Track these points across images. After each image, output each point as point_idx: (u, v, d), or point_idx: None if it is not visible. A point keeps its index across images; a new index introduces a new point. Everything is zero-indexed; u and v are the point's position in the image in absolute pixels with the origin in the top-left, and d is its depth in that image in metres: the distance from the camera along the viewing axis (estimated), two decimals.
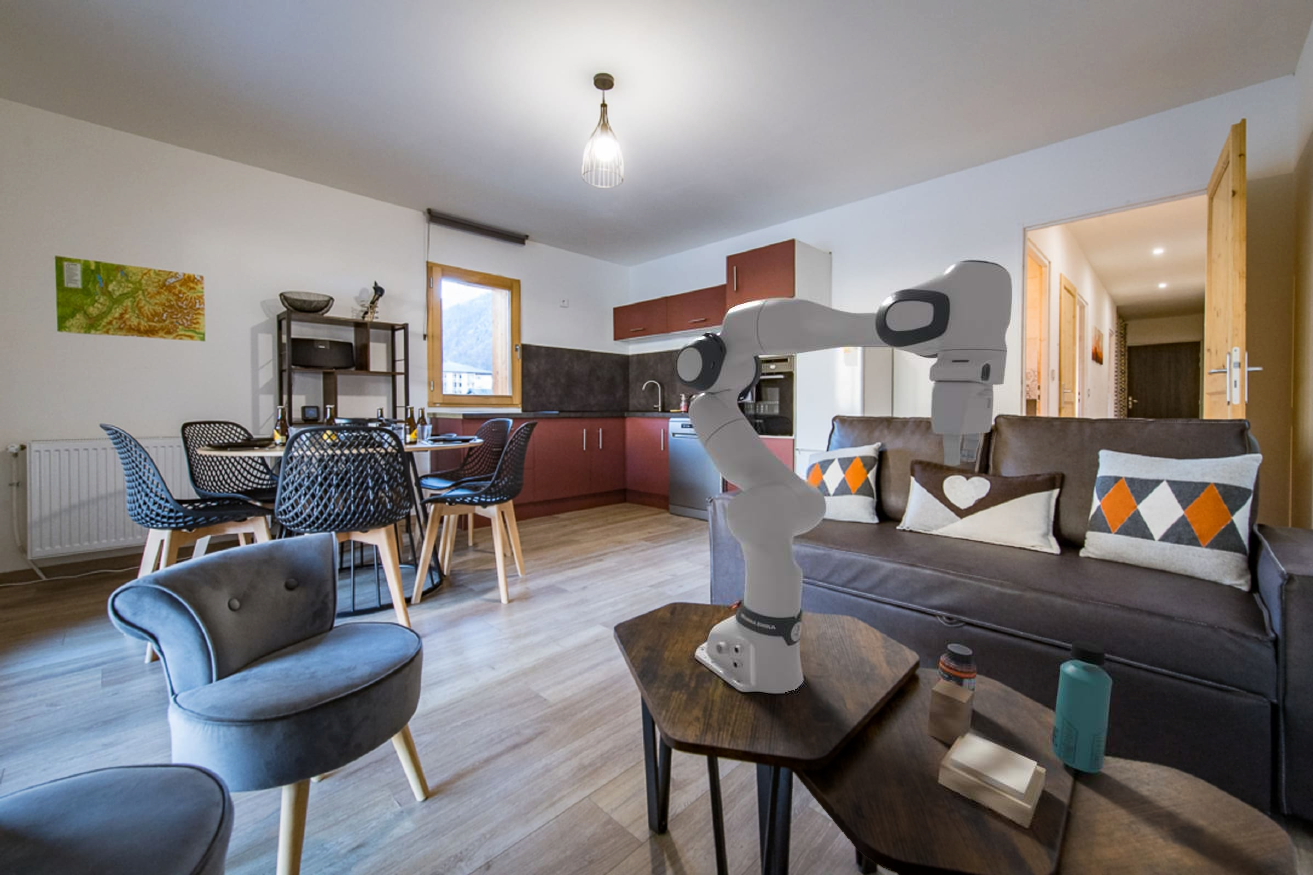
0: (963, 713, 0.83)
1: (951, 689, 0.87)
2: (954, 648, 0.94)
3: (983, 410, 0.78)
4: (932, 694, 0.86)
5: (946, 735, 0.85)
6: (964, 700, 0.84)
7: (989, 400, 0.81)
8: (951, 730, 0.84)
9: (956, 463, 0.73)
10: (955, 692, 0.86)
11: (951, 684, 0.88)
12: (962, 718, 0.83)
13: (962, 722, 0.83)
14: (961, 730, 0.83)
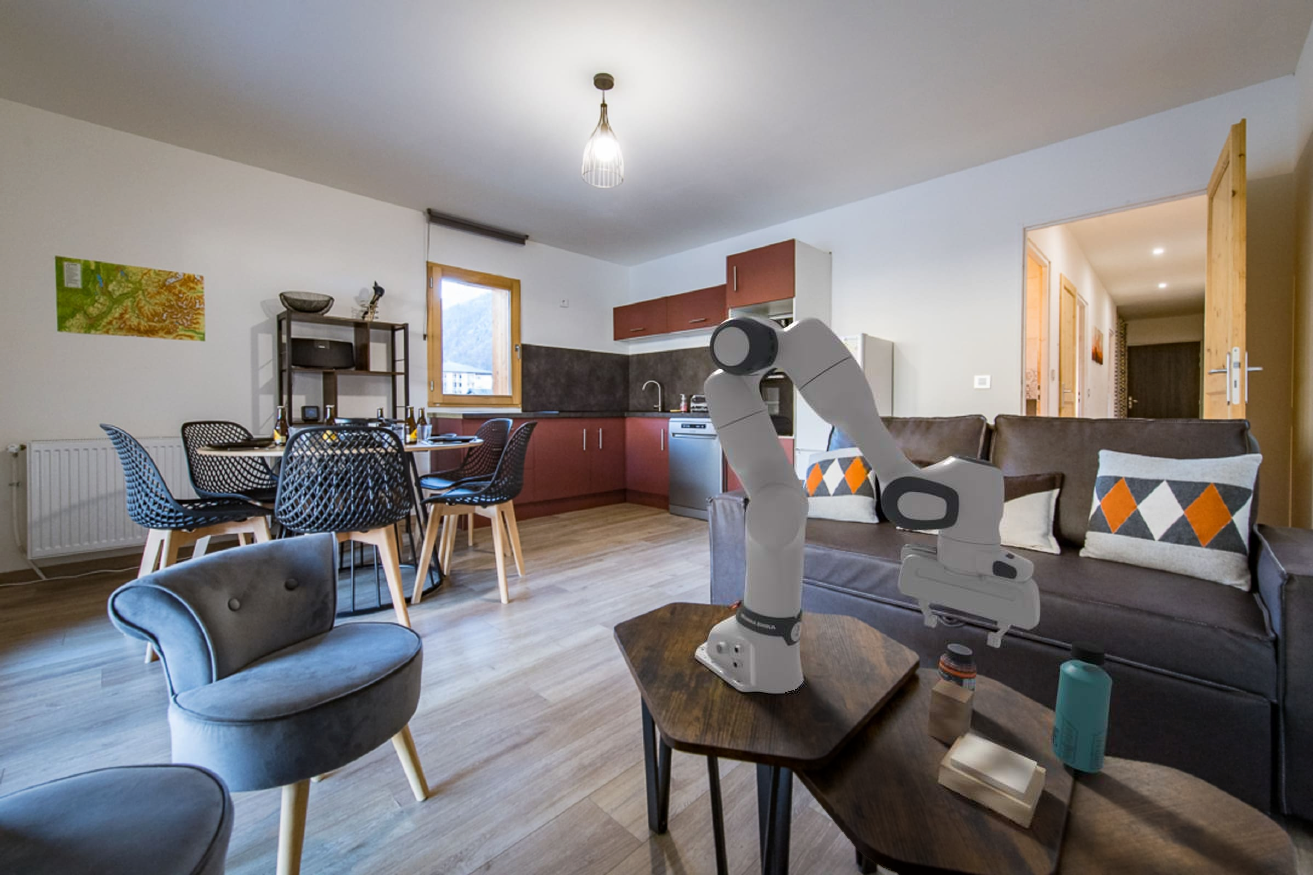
0: (963, 713, 0.83)
1: (951, 689, 0.87)
2: (953, 648, 0.94)
3: None
4: (932, 694, 0.86)
5: (946, 735, 0.85)
6: (964, 700, 0.83)
7: None
8: (951, 731, 0.84)
9: (1000, 643, 0.82)
10: (955, 692, 0.86)
11: (951, 684, 0.88)
12: (962, 718, 0.83)
13: (962, 722, 0.83)
14: (961, 730, 0.83)
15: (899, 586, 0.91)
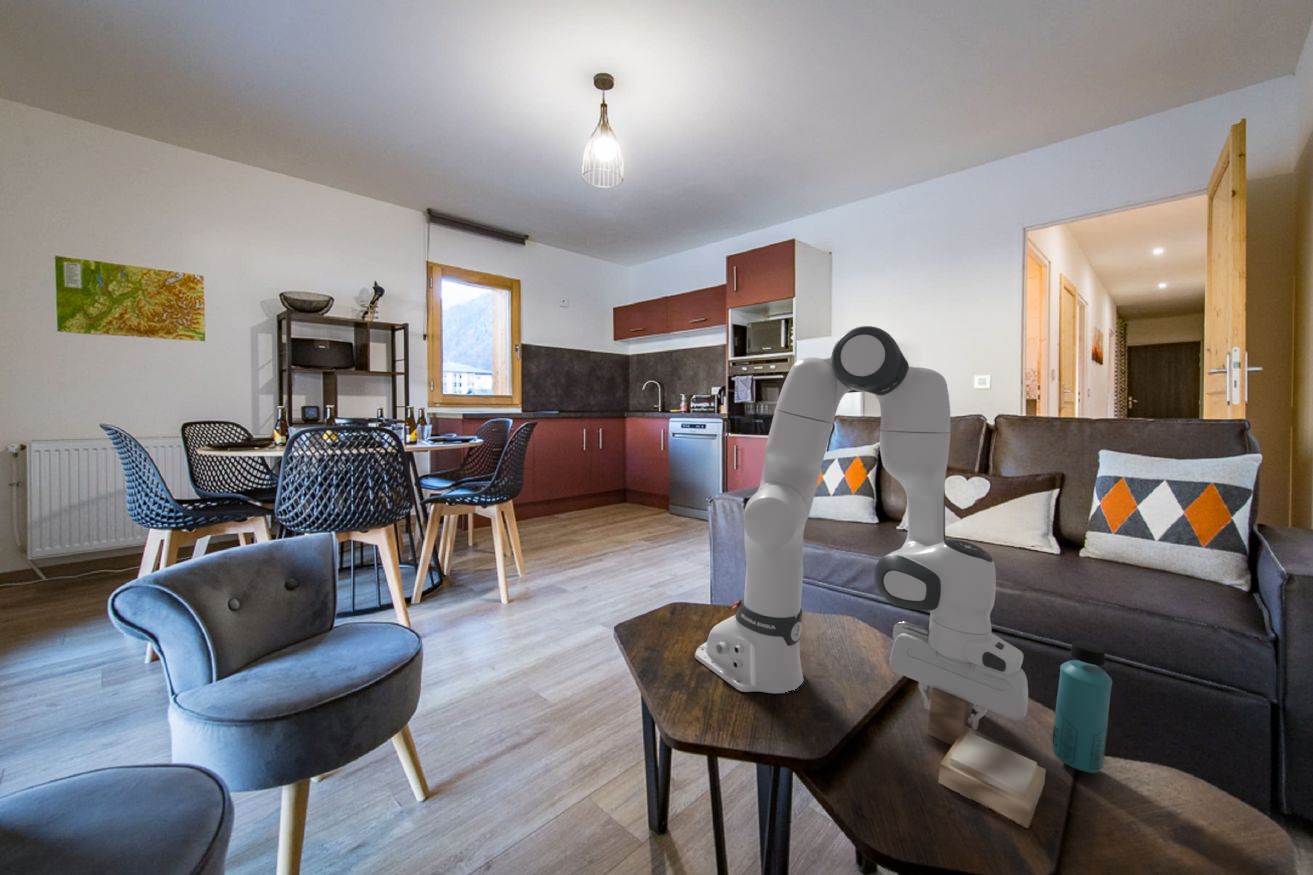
0: (963, 713, 0.83)
1: None
2: None
3: None
4: (932, 694, 0.86)
5: (946, 735, 0.85)
6: None
7: None
8: (951, 730, 0.84)
9: (977, 724, 0.84)
10: None
11: None
12: (962, 718, 0.83)
13: (962, 722, 0.83)
14: (961, 730, 0.83)
15: (891, 663, 0.92)
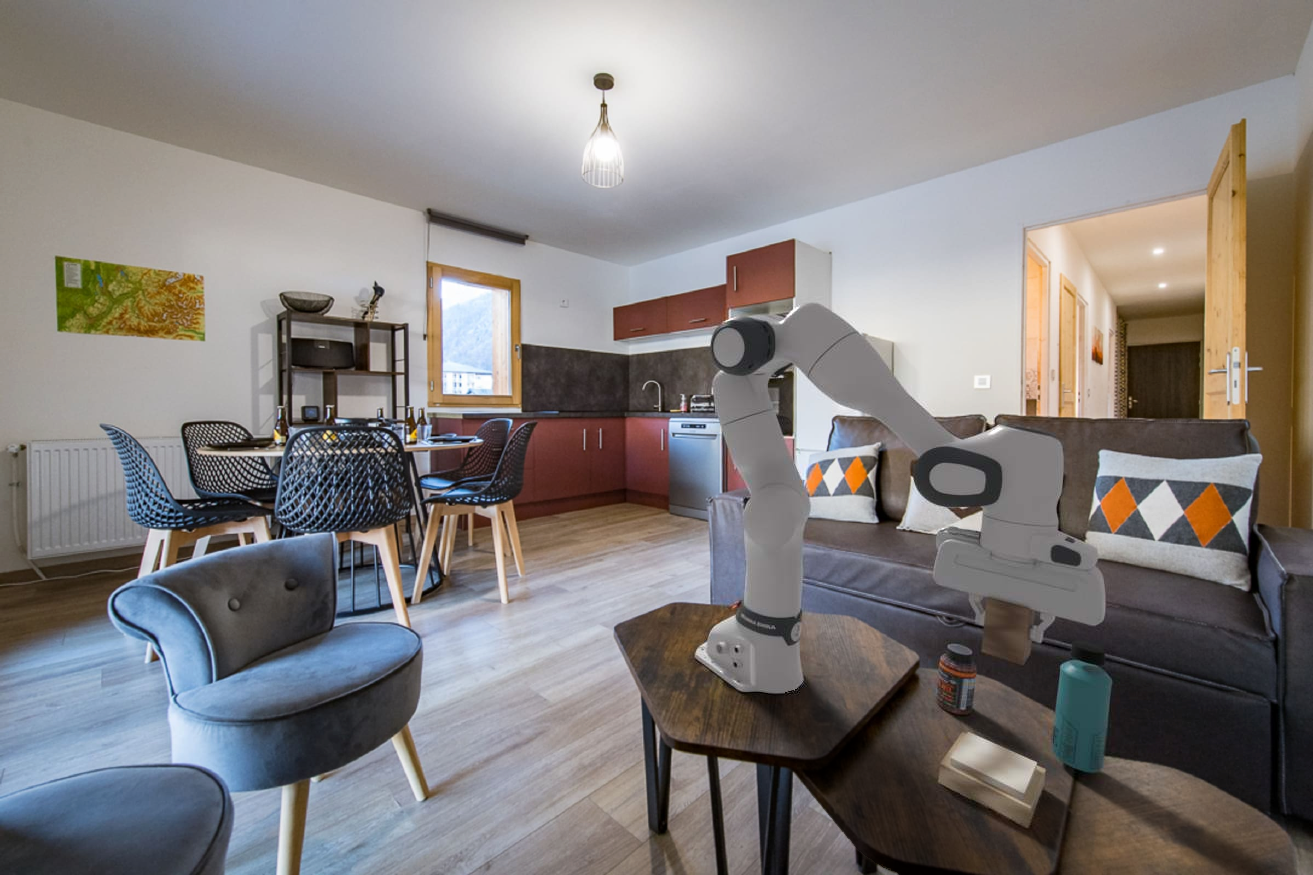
0: (1026, 622, 0.70)
1: None
2: (953, 648, 0.94)
3: None
4: (987, 604, 0.74)
5: (1005, 650, 0.72)
6: None
7: None
8: (1012, 644, 0.72)
9: (1042, 637, 0.72)
10: None
11: None
12: (1025, 628, 0.70)
13: (1025, 633, 0.70)
14: (1024, 642, 0.71)
15: (934, 576, 0.79)
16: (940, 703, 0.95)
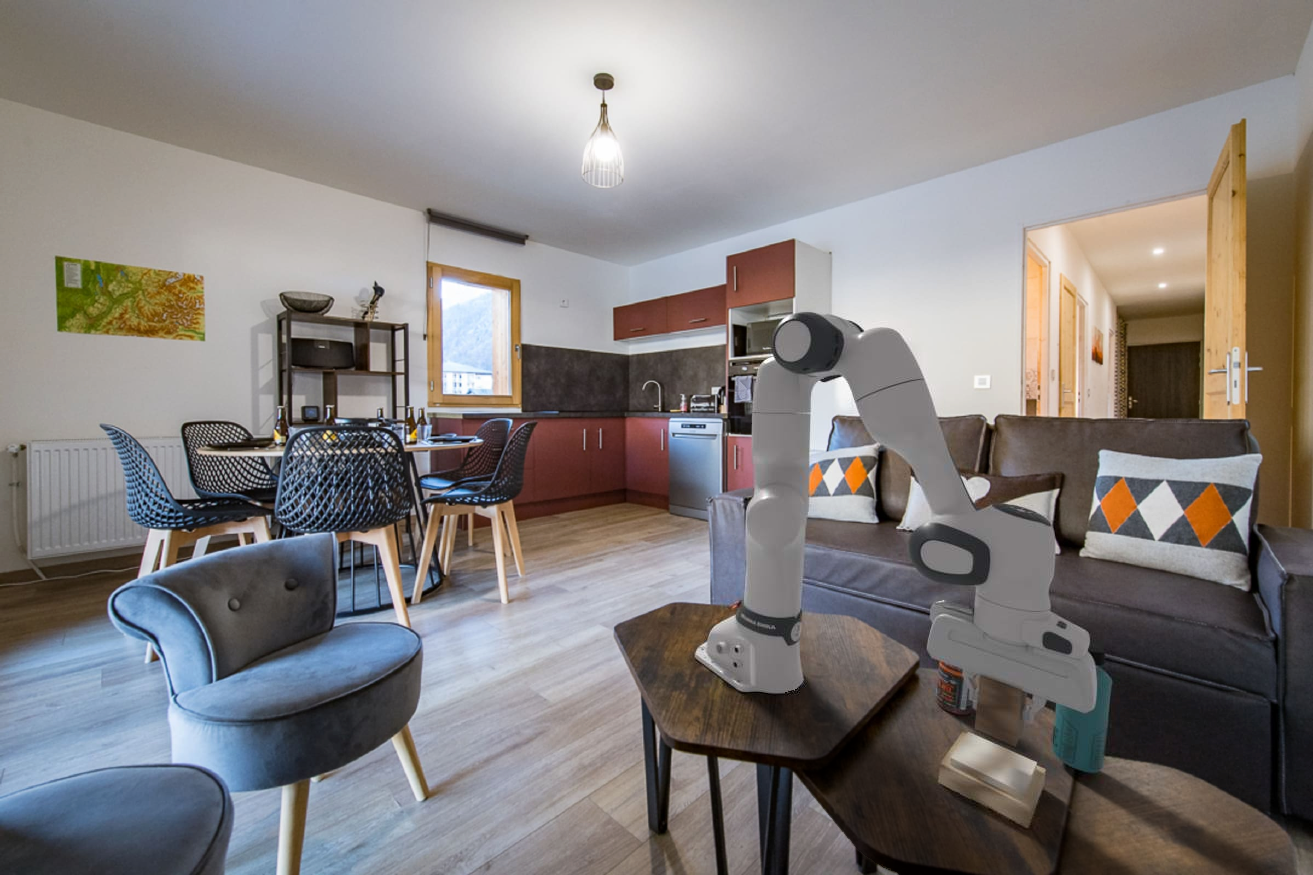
0: (1018, 704, 0.71)
1: None
2: None
3: None
4: (980, 682, 0.74)
5: (998, 730, 0.73)
6: None
7: None
8: (1004, 725, 0.72)
9: (1034, 717, 0.72)
10: None
11: None
12: (1017, 710, 0.71)
13: (1017, 714, 0.71)
14: (1016, 724, 0.71)
15: (929, 649, 0.80)
16: (940, 703, 0.95)
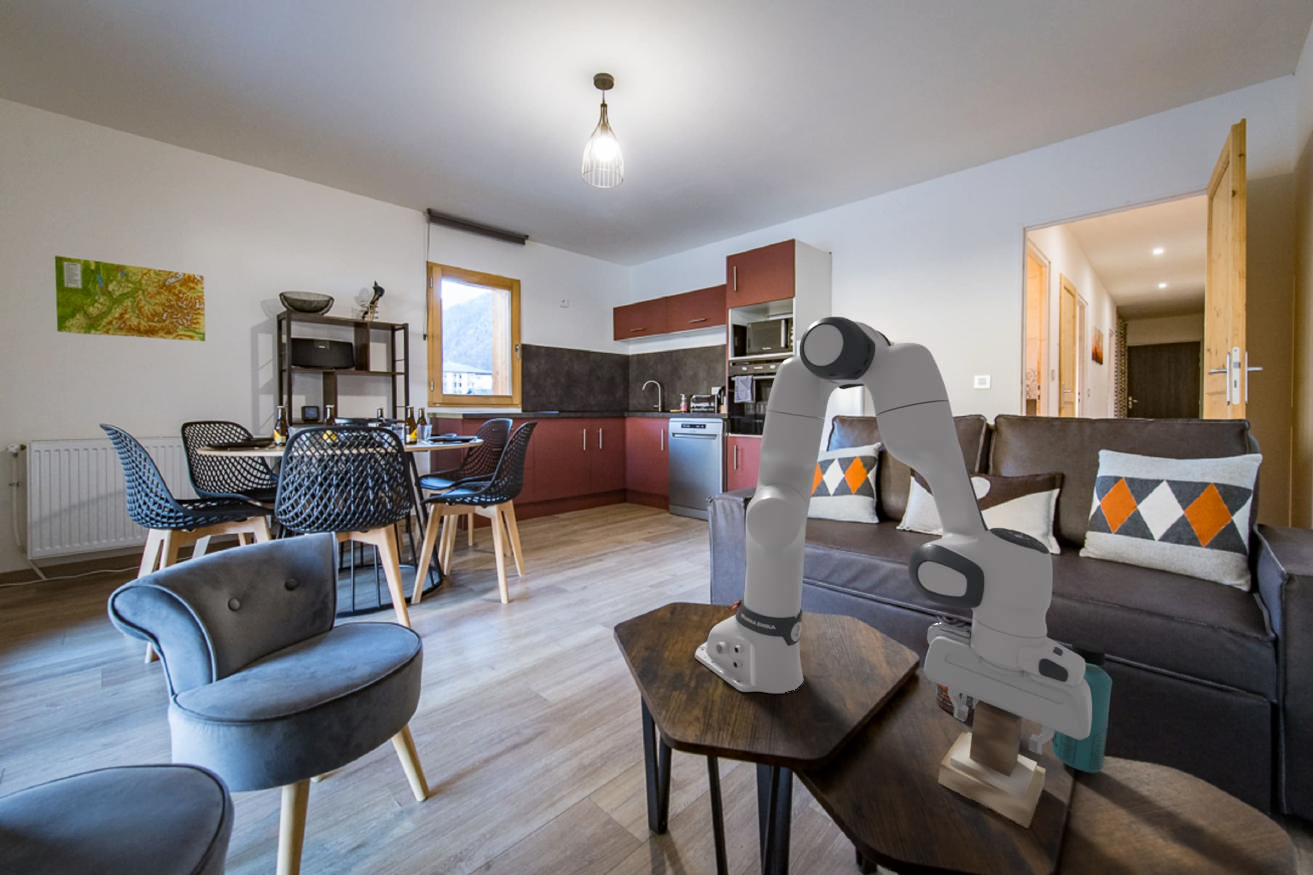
0: (1013, 735, 0.72)
1: None
2: None
3: None
4: (975, 712, 0.75)
5: (992, 760, 0.73)
6: (1014, 719, 0.72)
7: None
8: (999, 755, 0.73)
9: (1042, 747, 0.72)
10: (1001, 710, 0.74)
11: None
12: (1012, 741, 0.72)
13: (1012, 745, 0.72)
14: (1010, 755, 0.72)
15: (925, 671, 0.80)
16: (940, 703, 0.95)
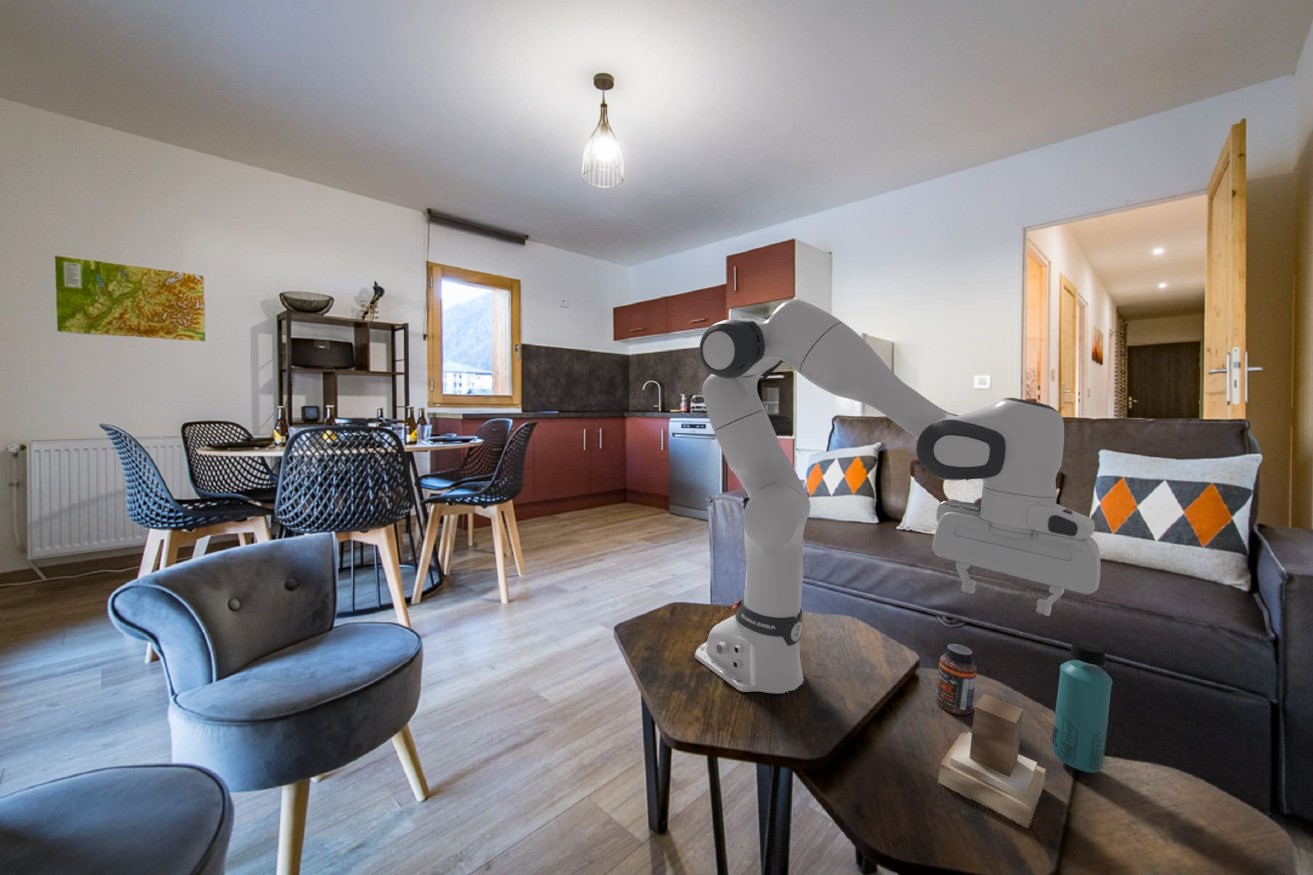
0: (1013, 735, 0.72)
1: (997, 706, 0.75)
2: (953, 648, 0.94)
3: None
4: (975, 712, 0.75)
5: (992, 760, 0.73)
6: (1014, 719, 0.72)
7: None
8: (999, 755, 0.73)
9: (1050, 611, 0.72)
10: (1001, 710, 0.74)
11: (996, 700, 0.77)
12: (1012, 741, 0.72)
13: (1012, 745, 0.72)
14: (1010, 755, 0.72)
15: (934, 547, 0.81)
16: (940, 703, 0.95)
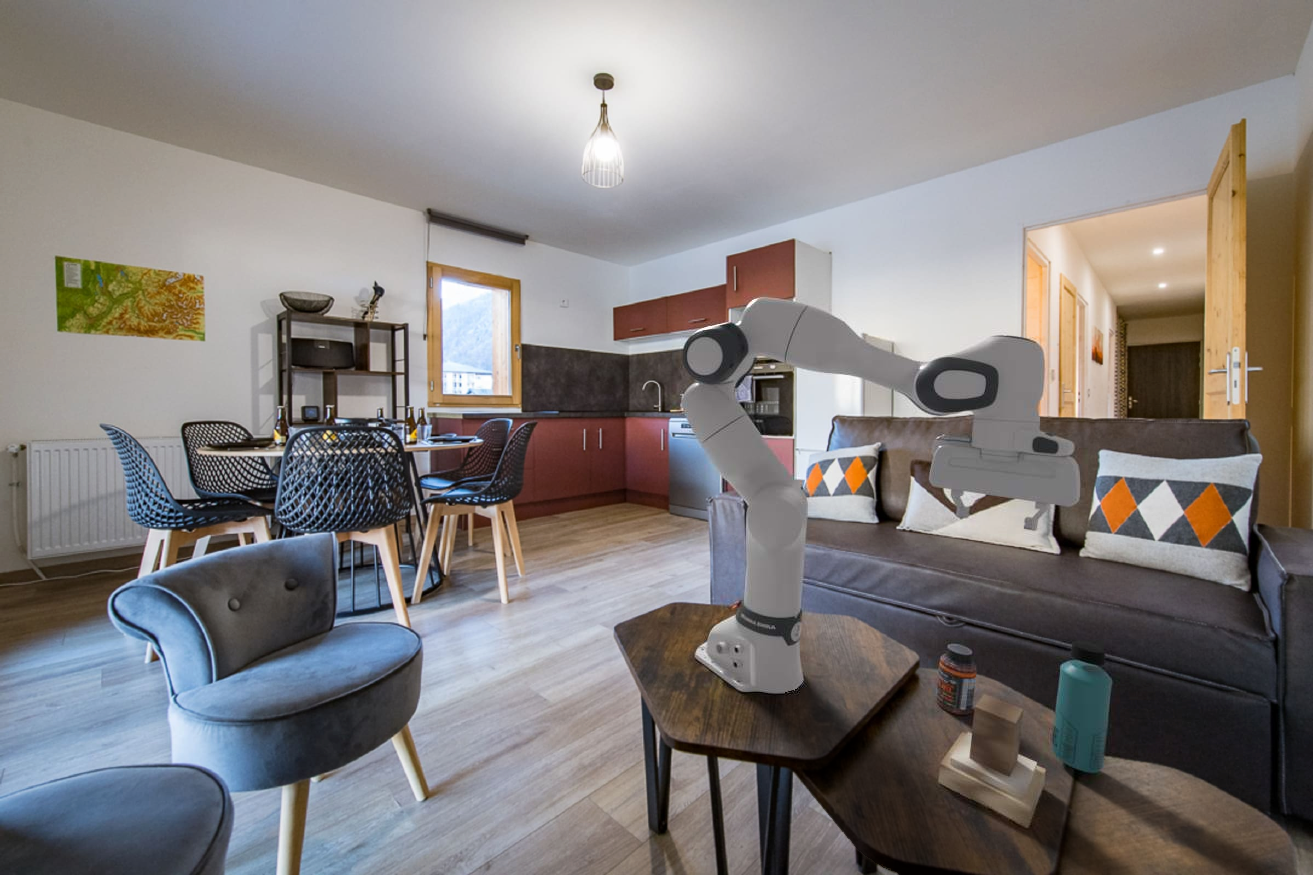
0: (1013, 735, 0.72)
1: (997, 706, 0.75)
2: (953, 648, 0.94)
3: None
4: (975, 712, 0.75)
5: (992, 760, 0.73)
6: (1014, 719, 0.72)
7: None
8: (999, 755, 0.73)
9: (1036, 527, 0.80)
10: (1001, 710, 0.74)
11: (996, 700, 0.77)
12: (1012, 741, 0.72)
13: (1012, 745, 0.72)
14: (1010, 755, 0.72)
15: (930, 478, 0.88)
16: (940, 703, 0.95)
